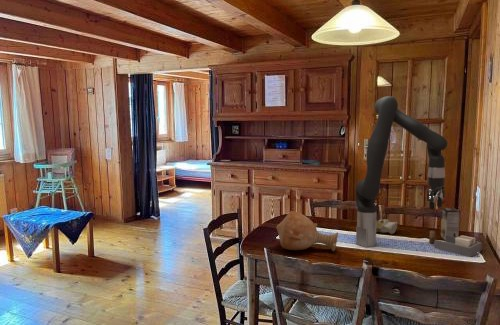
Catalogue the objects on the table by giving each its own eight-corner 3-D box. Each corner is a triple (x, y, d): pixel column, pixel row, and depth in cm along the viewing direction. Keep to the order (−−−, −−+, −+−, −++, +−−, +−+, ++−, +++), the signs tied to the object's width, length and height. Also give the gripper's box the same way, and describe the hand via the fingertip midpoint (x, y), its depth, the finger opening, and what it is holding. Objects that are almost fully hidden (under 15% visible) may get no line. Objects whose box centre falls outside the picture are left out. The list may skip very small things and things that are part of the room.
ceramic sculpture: (394, 220, 198) (367, 218, 206) (395, 236, 198) (367, 234, 207) (399, 217, 206) (373, 215, 215) (400, 232, 207) (373, 229, 215)
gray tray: (469, 256, 166) (469, 248, 166) (434, 248, 179) (434, 240, 179) (481, 250, 174) (481, 242, 174) (446, 242, 187) (446, 235, 186)
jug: (279, 218, 196) (336, 226, 191) (273, 252, 186) (333, 262, 181) (278, 202, 179) (341, 211, 174) (272, 239, 169) (338, 249, 164)
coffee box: (440, 236, 198) (441, 206, 197) (453, 236, 197) (454, 207, 195) (445, 241, 189) (446, 210, 188) (459, 241, 188) (460, 211, 186)
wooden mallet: (468, 253, 169) (468, 241, 169) (426, 243, 185) (426, 231, 185) (474, 250, 174) (475, 238, 173) (433, 240, 189) (433, 229, 189)
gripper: (435, 174, 190) (434, 204, 192) (422, 177, 181) (421, 209, 183) (450, 175, 184) (449, 206, 186) (437, 178, 175) (437, 211, 177)
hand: (435, 208), depth 184 cm, fingers open, 8 cm apart
